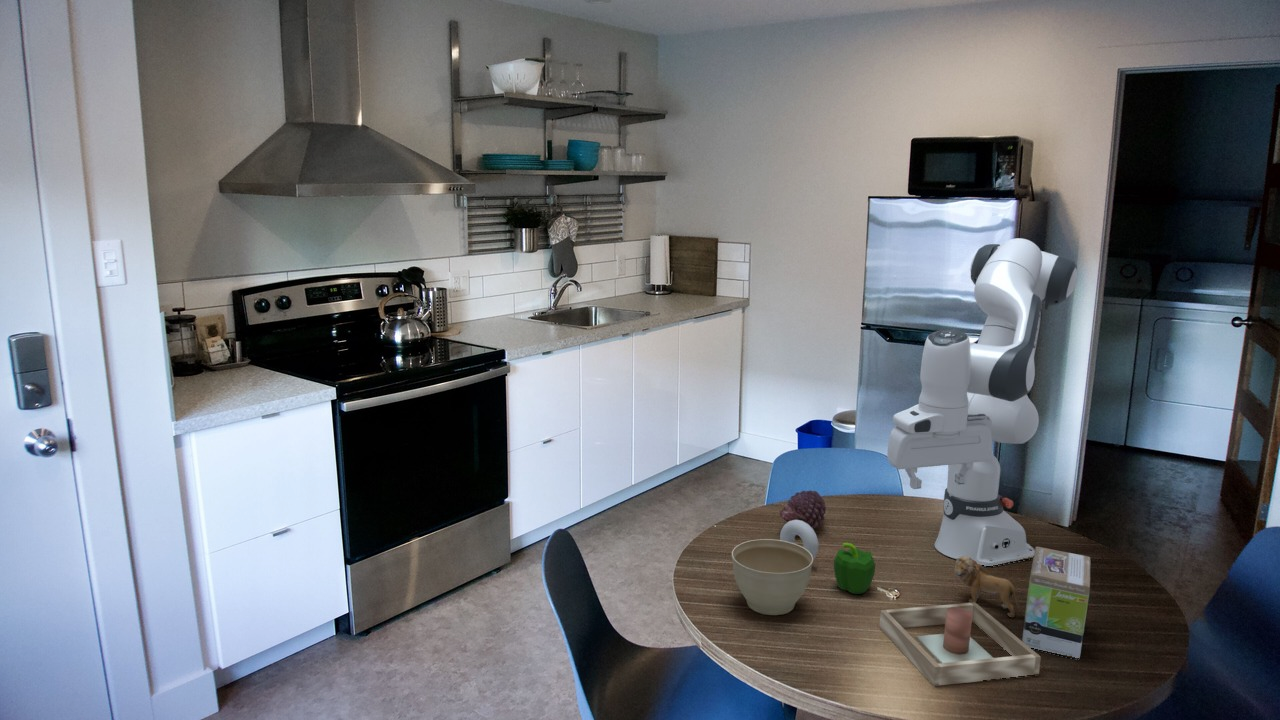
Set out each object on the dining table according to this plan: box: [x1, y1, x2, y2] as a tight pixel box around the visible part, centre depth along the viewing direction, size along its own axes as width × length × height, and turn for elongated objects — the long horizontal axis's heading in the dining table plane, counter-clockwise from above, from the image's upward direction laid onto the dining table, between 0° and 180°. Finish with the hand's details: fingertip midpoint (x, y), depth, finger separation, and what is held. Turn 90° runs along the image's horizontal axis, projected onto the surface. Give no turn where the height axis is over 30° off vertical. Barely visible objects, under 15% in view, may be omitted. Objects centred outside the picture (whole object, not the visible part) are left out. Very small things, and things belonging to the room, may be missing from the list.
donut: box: [779, 520, 820, 560], centre depth 189 cm, size 10×4×10 cm, turn 41°
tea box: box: [1021, 546, 1091, 659], centre depth 158 cm, size 15×10×15 cm, turn 152°
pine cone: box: [779, 490, 827, 531], centre depth 208 cm, size 18×10×10 cm, turn 141°
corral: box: [879, 602, 1042, 687], centre depth 154 cm, size 20×20×4 cm
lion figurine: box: [954, 556, 1025, 618], centre depth 170 cm, size 15×5×9 cm, turn 50°
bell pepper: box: [833, 542, 876, 595], centre depth 177 cm, size 8×8×10 cm
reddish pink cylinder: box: [943, 607, 973, 654], centre depth 153 cm, size 4×4×7 cm
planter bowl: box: [731, 538, 814, 616], centre depth 169 cm, size 16×16×11 cm
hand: (938, 485), depth 161 cm, fingers open, 8 cm apart
